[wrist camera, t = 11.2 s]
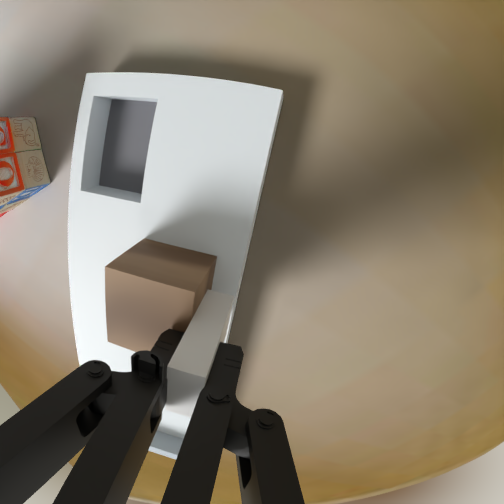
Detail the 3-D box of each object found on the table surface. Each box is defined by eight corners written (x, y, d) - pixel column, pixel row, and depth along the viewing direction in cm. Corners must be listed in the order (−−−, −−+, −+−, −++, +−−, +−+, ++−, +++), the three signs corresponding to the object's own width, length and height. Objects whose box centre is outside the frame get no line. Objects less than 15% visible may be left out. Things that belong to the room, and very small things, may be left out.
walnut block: (144, 238, 17) (105, 266, 13) (217, 256, 17) (195, 292, 13) (140, 303, 19) (107, 341, 14) (205, 321, 19) (185, 367, 14)
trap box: (107, 78, 16) (67, 68, 12) (283, 98, 16) (282, 81, 12) (99, 392, 26) (80, 421, 22) (208, 430, 26) (198, 465, 22)
